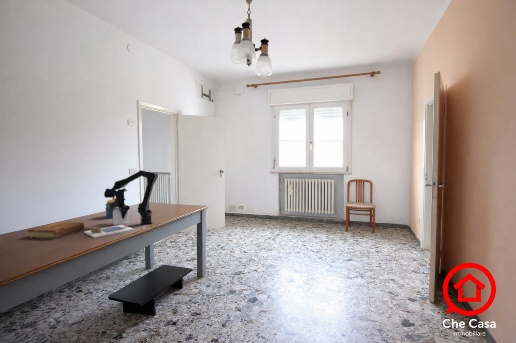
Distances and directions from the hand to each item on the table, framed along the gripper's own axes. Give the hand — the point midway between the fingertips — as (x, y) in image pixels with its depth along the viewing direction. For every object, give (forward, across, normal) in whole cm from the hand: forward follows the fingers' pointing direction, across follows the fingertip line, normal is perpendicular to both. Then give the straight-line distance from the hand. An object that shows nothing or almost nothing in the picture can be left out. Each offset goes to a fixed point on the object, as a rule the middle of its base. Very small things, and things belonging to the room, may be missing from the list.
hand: (120, 218), depth 200 cm
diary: (+5, -4, -38) cm, 39 cm away
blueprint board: (+4, +16, -14) cm, 22 cm away
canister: (+5, -28, +6) cm, 29 cm away
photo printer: (+5, 0, 0) cm, 5 cm away
